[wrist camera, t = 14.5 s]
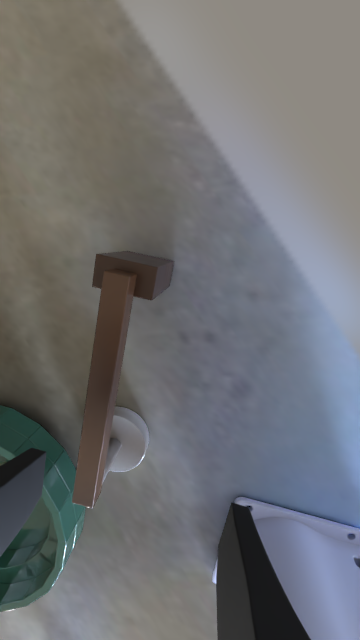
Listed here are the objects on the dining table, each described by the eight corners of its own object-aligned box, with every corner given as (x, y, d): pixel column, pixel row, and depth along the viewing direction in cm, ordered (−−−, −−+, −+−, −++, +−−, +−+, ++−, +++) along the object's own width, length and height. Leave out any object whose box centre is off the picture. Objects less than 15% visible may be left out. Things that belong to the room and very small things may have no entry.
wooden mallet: (143, 467, 23) (115, 545, 17) (86, 451, 24) (40, 522, 18) (185, 263, 19) (168, 272, 13) (116, 248, 20) (69, 251, 14)
